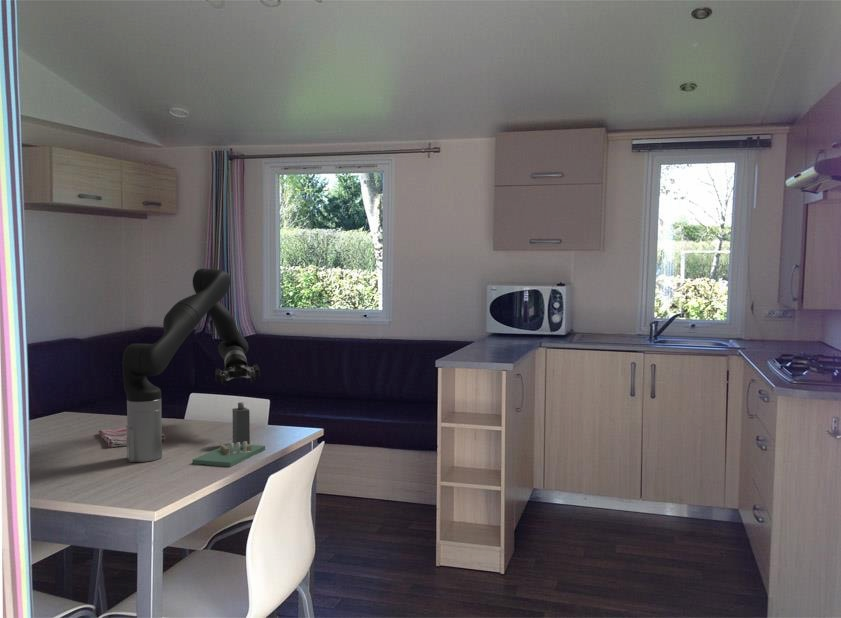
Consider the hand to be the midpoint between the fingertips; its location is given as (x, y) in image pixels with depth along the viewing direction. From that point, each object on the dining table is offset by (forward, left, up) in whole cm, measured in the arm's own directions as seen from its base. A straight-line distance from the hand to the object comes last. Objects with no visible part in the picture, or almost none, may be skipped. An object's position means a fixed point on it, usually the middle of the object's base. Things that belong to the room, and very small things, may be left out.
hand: (238, 381), depth 225 cm
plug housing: (-1, -7, -19) cm, 20 cm away
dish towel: (-30, +19, -20) cm, 41 cm away
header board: (-8, -21, -19) cm, 30 cm away
